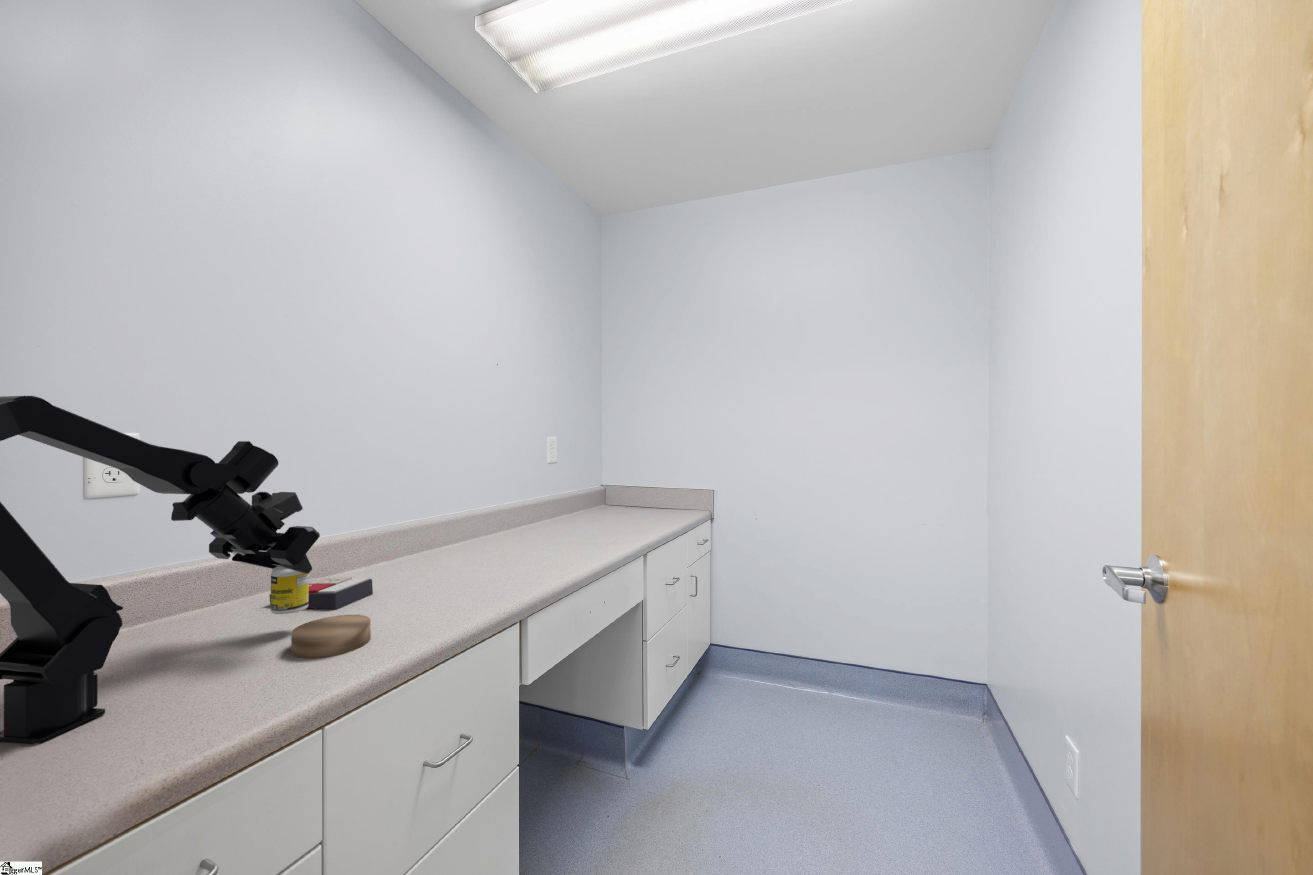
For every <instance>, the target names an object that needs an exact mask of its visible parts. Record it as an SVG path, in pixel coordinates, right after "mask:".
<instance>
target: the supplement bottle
mask: <svg viewBox="0 0 1313 875" xmlns="http://www.w3.org/2000/svg"><path fill="white" fill-rule="evenodd" d="M309 574H310V573H309ZM309 574H306V573H302V572H298V571H294V570H291V569H287V568H283V567H279V566H277V567H275V568H274V569H272V570H271V572H270V594H271V607H270V613H272V614H274V615H290V614H294V613H299V612H302V611H304V610H306V609H308V608H307V607H308V603H309V579H310V575H309Z"/></svg>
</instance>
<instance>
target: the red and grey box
mask: <svg viewBox="0 0 1313 875" xmlns="http://www.w3.org/2000/svg"><path fill="white" fill-rule="evenodd" d="M373 594H374V588H373V578H369V577H355V578H353V577H351V576H349V577H348V576H347V577H343V576H342V577H311V578H309V603H308V607H307V608H306V609H315V610H318V611H319V610H322V611H323V610H324V611H337V610H340V609H342V608H344V607H347V606H349V605H351V604H354V603H356V602H358V601H361V600H363V599H365V598H367V597H371V596H373ZM270 606H271V593H270V594H269V607H270Z"/></svg>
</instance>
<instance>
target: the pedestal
mask: <svg viewBox="0 0 1313 875" xmlns="http://www.w3.org/2000/svg"><path fill="white" fill-rule="evenodd" d="M371 625H372V624H371V618H370V617H369V616H367V615H363V614H342V615H332V616H326V617H322V618H318V619H314V620H310V621H307V622H305V623H302V624H300V625H299V626H296V627H295V628H294V629H292V630H291V637H290V640H291V642H290V643H291V644H290V648H291V649H290V650H291V651H290V652H291V655H292V656H293V657H296V658H300V659H320V658H328V657H333V656H338V655H343V654H346V653H348V652H349V653H350V652H353V651H355V650H358V649H360V648H362V647H364V646H365V645H366V644H368V643H369V642H371V636H372V635H371V630H372V629H371Z"/></svg>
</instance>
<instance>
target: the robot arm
mask: <svg viewBox="0 0 1313 875" xmlns="http://www.w3.org/2000/svg"><path fill="white" fill-rule="evenodd" d="M16 436H21V437H24V438H27V439H29V440H31V441H35V442H39V443H41V444H43V445H47V446H50V447H52V448H56V449H59V450H62V451H64V452H67V453H71V454H73V455H77V456H79V457H82V458H84V459H88V460H91V461H93V462H97V463H98V464H99V463H100V464H103V465H105V466H108V467H111V468H115V469H117V470H119V471H120V472H123V473H124V474H125V475H127V476H128V477H129V478H130V479H131V480H132V481H133V482H134V483H137V484H139V485H141V486H142V487H145V488H147V489H148V490H150V491H152V492H153V493H157V494H162V495H165V494H166V495H187V497H185V499H184V500H183V501H178V502H177V501H176V502H173V503H172V507H173V508H172V512H171V516H170V517H171V518H170V519H171V521H172V522H181V521H193V520H194V519H195V518H197V519H198V520H199V521H201V523H203V524H204V525H205V526H207V527H208V528H210V529H211V530H212V531H211V532H210V534H209V535H211V536H212V537H214V539H213V540H212V541H211V542H210V543H209V544H208V553H209V554H210V555H212V556H214V557H215V558H216V559H221V560H229V559H230V557H231V554H232V555H233V556H232V557H231V562H237V563H242V564H246V565H247V564H248V565H251V566H256V567H262V568H267V569H270V570H271V569H272V570H273V569H274V568H275V567H277V566H279V567H283V568H287V569H291V570H294V571H298V572H302V573H306V574H310V573H311V571H312V570H313V566H312V564H311V562H310V560H309V557H308V556H307V554H308V551H310V549H311V548H312V547H313V545H314V544H315V543H316V542H317V541H318V539H319V538H320V535H321V534H320V533H319V532H318V531H317V530H316V529H315V528H314V527H313V526H308V525H307V526H305V525H304V526H301V525H296V526H294V525H293V526H290V527H288V529H287V530H286V531H285V532H284V533H283V532H277V531H278V530H281V529H282V528H283V527H284V526H285V524H286V523H285V522H284V521H283V520H285V519H287V518H289V517H290V516H293V515H294V514H295V513H299V512H301V511H302V510H303V509H304V508H303V505H302V503H301V502H300V499H299V497H298V495H297V493H296V492H295V491H290V492H289V491H279V492H272V493H271V494H270V493H269V492H268V491H258V492H256V491H257V490H258V489H259V488H260V486H261V485H262V484H263V483H264V482H265V481H266V480H267V479H268V477H269V476H270V475H271V474H272V473H273V472H274V471H275V469H276V468H277V467H278V466H279V460H278V458H277V456H275V455H274V454H273V453H270V452H269V451H267V450H266V449H263V448H261V447H259V446H256V445H253V443H252V442H251V441H249V440H247V441H246V440H240V441H237V442H236V443H235V444H234V445H233V446H232V448H231V449H230V451H229V452H228V453H227V454H225V456H224V457H222V459H221V460H220V461H218V462H215V461H214V460H213V459H212V458H211V457H209V456H208V455H204V454H202V453H197V452H193V451H188V450H183V449H178V448H172V447H166V446H160V445H155V444H152V443H148V442H145V441H143V440H141V439H139V438H135V437H133V436H131V435H128V434H126V433H125V432H124V433H123V432H121V431H118V430H116V429H114V428H111V427H108V426H106V425H103V424H101V423H98V422H96V421H93V420H91V419H89V418H87V417H83V416H81V415H78V414H76V413H73V412H71V411H69V410H66V409H63V408H60V407H58V406H56V405H53V404H51V402H49V401H47V400H45V399H44V398H42V397H39V396H35V395H7V396H6V395H5V396H4V395H3V396H0V442H1V441H5V440H8V439H11V438H12V437H16ZM254 492H256V493H254ZM245 493H249V494H251V493H254V494H252V495H251V504H250V503H249V502H248V501H247V500H246V499H244V498H243V497H242V496H241V495H243V494H245ZM0 595H1V596H2V597H3V598H4V599H5V601H6V602H7V603H8V605H9V607H10V609H9V610H10V626H11V627H12V629H13V631H14V632H15V635H16V636H17V637H16V638H15V639H14V640H13V641H12V642H11V643H10V644H9V645H8V646H6V647H5V649H4V650H2V651H1V652H0V680H9V681H11V680H13V681H11V682H9V683H5V684H4V685H3V730H0V742H1V741H2V742H15V743H30V744H31V743H33V744H38V743H42V742H45V741H47V740H49V739H51V738H53V737H56V736H58V735H61V734H62V733H65V732H67V731H69V730H72V729H74V728H76V727H78V726H81V725H82V724H85V723H87V722H89V721H91V720H94V719H95V718H98V717H100V716H103V715H104V714H106V708H98V703H99V700H98V698H99V697H98V691H99V689H98V686H99V684H98V683H99V681H98V680H99V679H98V676H99V675H98V673H97V672H96V671H98V670H101V669H103V668H104V665H105V663H106V660H107V659H108V656H109V652H110V651H111V648H112V645H113V643H114V641H115V640H116V638H117V637H118V636H119V633H120V629H121V628H122V627H123V625H124V624H123V623H124V622H123V618H122V616H121V614H120V613H119V612H118V611H122V610H123V609H124V607H123V606H122V605H119V604H116V602H115V601H113V599H112V597H111V596H110V594H109V591H108V590H107V588H106V587H105V586H103V584H94V583H79V582H69V581H68V580H67V579H66V578H65V577H64V575H63V574H62V573H61V572H60V571H59V569H58V568H57V567H56V566H55V564H53V562H52V561H51V560H50V558H48V556H47V555H46V553H44V551H43V550H42V549H41V548H40V547H39V546H38V544H37V543H36V542H35V541H34V540H33V538H32V537H31V536H30V534H28V532H26V530H25V529H24V528H23V526H22V525H21V524H20V523H19V522H18V520H16V518H15V517H14V516H13V514H11V512H10V511H9V509H7V508H6V506H4V503H2V502H1V501H0Z"/></svg>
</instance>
